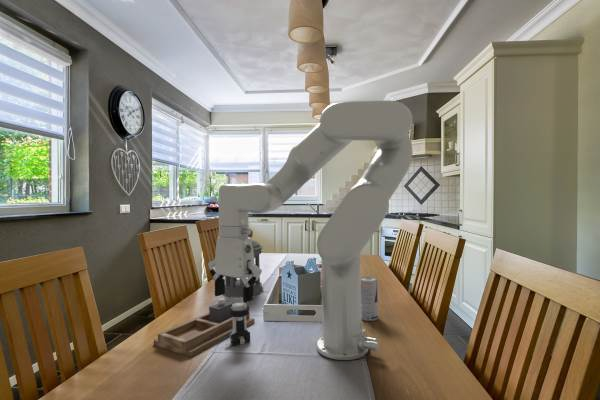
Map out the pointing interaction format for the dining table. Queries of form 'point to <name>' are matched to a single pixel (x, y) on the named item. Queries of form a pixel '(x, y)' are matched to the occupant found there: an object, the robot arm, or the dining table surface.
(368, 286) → the energy drink
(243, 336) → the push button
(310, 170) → the robot arm
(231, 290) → the lantern
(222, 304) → the plug block
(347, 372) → the dining table surface
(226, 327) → the brown wooden divided tray
